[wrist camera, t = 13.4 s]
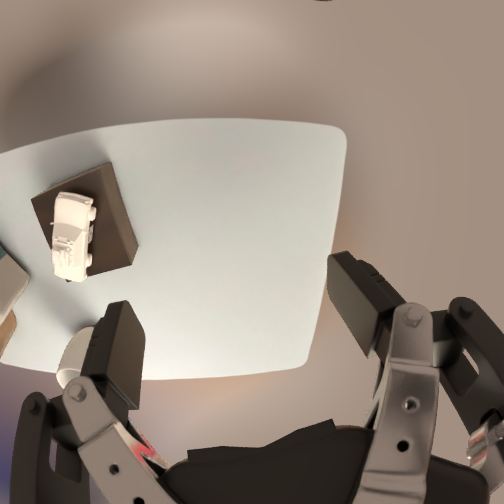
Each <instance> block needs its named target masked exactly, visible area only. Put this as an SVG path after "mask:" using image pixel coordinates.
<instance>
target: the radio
mask: <svg viewBox="0 0 504 504" xmlns="http://www.w3.org/2000/svg"><path fill="white" fill-rule="evenodd" d="M29 279H30V277H29V275H28V274H27V273H26V272H25V271H24V270H23V269H22V268H21V267H20V266H19V265H18V264H17V263H16V262H15V261H14V260H13V259H12V258H11V257H10V256H9V255H8V254H7V253H6V252H5V251H4V250H3V248H2V247H1V246H0V326H1V324H2V323H3V321H4V320H5V318H6V316H7V315H8V313H9V312H10V310H11V309H12V307H13V305H14V304H15V302H16V301H17V299H18V298H19V297H20V295H21V294H22V292H23V291H24V289H25V288H26V286H27V284H28V282H29Z"/></svg>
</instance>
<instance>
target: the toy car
mask: <svg viewBox="0 0 504 504" xmlns="http://www.w3.org/2000/svg"><path fill="white" fill-rule="evenodd" d="M92 203H93V199H92V198H89V197H86V196H83V195H79V194H75V193H69V192H59V194H58V196H57V197H56V200H55V206H54V210H55V214H54V223H53V222H51V223H50V224H54V228H53V236H52V263H54V273H55V274H56V275H57V276H59V277H62V278H64V279H68V280H71V281H76V282H82V281H83V280H84V279H86V278H87V274H86V268H87V266H90V265H91V264H92V255H91V254H90V253H87V250H88V243H90V242H88V236H89V240H90V241H91V240H92V237H91V234H90V232H89V229H91V232H92V233H93V227H92V226H93V225H92V226H91V228H89V225H90V221H93V220H94V219H95V216H96V208H95V207H91V204H92Z"/></svg>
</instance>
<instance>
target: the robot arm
mask: <svg viewBox="0 0 504 504" xmlns="http://www.w3.org/2000/svg"><path fill="white" fill-rule="evenodd" d="M327 290H328V294H329V297H330V300H331V301H332V303H333V304H334V306H335V308H336V309H337V311H338V312H339V314H340V315H341V317H342V318H343V320H344V322H345V323H346V325H347V326H348V328H349V330H350V331H351V333H352V334H353V336H354V338H355V339H356V341H357V342H358V344H359V346H360V347H361V349H362V351H363V352H364V354H365V356H366V357H367V358H370V357H372V356H374V355H378V357H379V358H380V361H379V365H378V370H377V374H376V379H375V384H374V388H373V392H372V396H371V401H370V404H369V408H368V410H367V413H366V416H365V419H364V422H363V425H362V427H360V426H351V425H341V426H335V424H334V422H333V420H332V419H329V420H326V421H323V422H321V423H318V424H315V425H311V426H308V427H305V428H301V429H298V430H296V431H294V432H292V433H290V434H288V435H286V436H284V437H283V438H281V439H279V440H277V441H275V442H273V443H270V444H269V445H266V446H264V447H260V448H251V447H250V448H249V447H229V446H219V447H211V448H203V449H194V450H187V453H188V458H187V459H184V460H182V461H180V462H178V463H176V464H175V465H173V466H171V465H170V464H169V463H168V462H167V461H165V460H164V459H163V458H162V457H161V456H160V455H159V454H158V453H157V452H156V451H155V450H154V449H153V447H152V446H151V445H150V444H149V443H148V441H147V440H146V439H145V438H144V436H143V435H142V434H141V433H140V431H139V430H138V429H137V427H136V426H135V425H134V424H133V422H132V421H131V420H130V418H128V410H138V409H139V401H140V389H141V378H142V368H143V358H144V350H145V333H144V330H143V328H142V326H141V324H140V322H139V320H138V318H137V316H136V315H135V313H134V311H133V309H132V307H131V305H130V303H129V302H128V301H127V300H124V301H119V302H114V303H110V304H109V305H108V307H107V310H106V313H105V316H104V317H102V318H101V319H100V320H99V321H98V323H97V324H96V325H95V327H94V329H93V332H92V335H91V339H90V341H89V345H88V346H89V347H88V348H87V351H86V355H85V358H84V361H83V365H82V369H81V372H80V376H79V377H76V378H74V379H72V380H71V381H69V382H68V383H67V385H66V386H65V388H64V390H63V394H62V395H60V396H57V397H55V398H52V399H49V400H48V399H47V398H46V397H45V396H44V395H43V394H42V393H40V392H33V393H31V394H30V395H28V396H27V397H26V399H25V400H24V402H23V405H22V409H21V412H20V417H19V421H18V427H17V432H16V437H15V443H14V450H13V457H12V467H11V478H10V504H90V491H89V490H90V489H89V473H90V475H91V477H92V478H93V480H94V482H95V483H96V485H97V487H98V488H99V490H100V491H101V493H102V494H103V496H104V497H105V499H106V500H107V502H108V503H109V504H489V501H490V495H491V494H492V493H493V492H494V491H495V490H496V489H497V488H499V487H500V486H501V485H502V484H503V483H504V334H503V333H502V332H501V330H500V329H499V328H498V327H497V326H496V325H495V323H494V322H493V321H492V320H491V319H490V317H489V316H488V315H487V314H486V313H485V312H484V311H483V310H482V309H481V307H480V306H479V305H478V304H477V303H476V302H474V301H473V300H471V299H469V298H466V297H457V298H454V299H453V300H452V301H451V303H450V305H449V308H448V310H442V311H434V312H429V310H428V309H427V308H426V307H424V306H422V305H420V304H417V303H407V302H406V301H405V300H404V299H403V298H402V297H401V296H400V295H399V293H398V292H397V291H396V290H395V289H394V288H393V287H392V286H391V285H390V284H389V283H388V282H387V281H385V278H384V277H383V276H382V275H380V274H379V272H378V271H377V270H376V269H375V268H374V267H373V266H372V265H371V264H369V263H367V262H364V261H363V260H356V259H355V258H354V257H353V256H352V255H351V254H350V253H349V252H348V251H343V252H339V253H335V254H331V255H329V256H328V259H327ZM464 349H466V350H467V352H468V353H469V354H470V356H471V357H472V359H473V360H474V361H475V363H476V364H477V366H478V369H479V375H478V374H477V372H476V371H475V369H474V368H473V366H472V365H471V364H470V362H469V361H468V359H467V358H466V356H465V355H464V354H463V351H464ZM439 381H440V383H441V384H442V386H443V388H444V390H445V391H446V393H447V394H448V396H449V398H450V400H451V402H452V403H453V405H454V407H455V409H456V410H457V412H458V414H459V416H460V418H461V420H462V421H463V423H464V425H465V427H466V429H467V431H468V433H469V435H470V438H469V443H468V448H467V450H466V455H467V457H468V458H470V466H469V467H468V466H465V465H462V464H458V463H455V462H452V461H449V460H446V459H443V458H440V457H437V456H435V455H432V454H431V449H432V444H433V438H434V431H435V425H436V416H437V407H438V394H439ZM51 440H52V441H54V442H55V443H57V453H56V466H55V468H56V469H55V472H54V471H53V470H52V469H51V467H50V464H49V454H50V443H51Z"/></svg>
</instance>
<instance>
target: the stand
mask: <svg viewBox="0 0 504 504" xmlns="http://www.w3.org/2000/svg"><path fill="white" fill-rule="evenodd" d="M59 192H69V193H75V194H79V195H83V196H86V197H89V198H92V199H93V203H92V204H91V207H95V208H96V216H95V219H94V220H93V221H90V225H89V228H91V226H92V225H93V226H92V227H93V233H92V232H91V229H89V232H90V234H91V237H92V240H91V241H90V240H89V236H88V242H90V243H88V250H87V253H90V254H91V255H92V264H91V265H90V266H87V268H86V274H87V277H88V276H92V275H96V274H100V273H103V272H107V271H111V270H115V269H118V268H122V267H126V266H130V265H132V263H133V260H134V257H135V254H136V252H137V249H138V246H139V245H138V243H137V240H136V237H135V235H134V232H133V229H132V227H131V224H130V221H129V218H128V215H127V212H126V209H125V206H124V203H123V200H122V197H121V194H120V191H119V188H118V184H117V181H116V178H115V174H114V171H113V167H112V164H111V162H110V163H107V164H104V165H101V166H99V167H96V168H94V169H91V170H89V171H86V172H84V173H81V174H79V175H76V176H74V177H72V178H69V179H67V180H65V181H63V182H60V183H58V184H56V185H54V186H52V187H50V188H48V189H46V190H45V191H43V192H41V193H40V194H38V195H37V196H35V197H34V198H32V199H31V201H32V204H33V207H34V210H35V212H36V215H37V218H38V220H39V223H40V225H41V228H42V230H43V233H44V235H45V237H46V240H47V242H48V244H49V246H50V249H51V251H52V236H53V228H54V224H50V223H51V222H53V223H54V214H55V210H54V206H55V200H56V197H57V196H58V194H59ZM66 281H67V282H70V281H71V280H68V279H66Z"/></svg>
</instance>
